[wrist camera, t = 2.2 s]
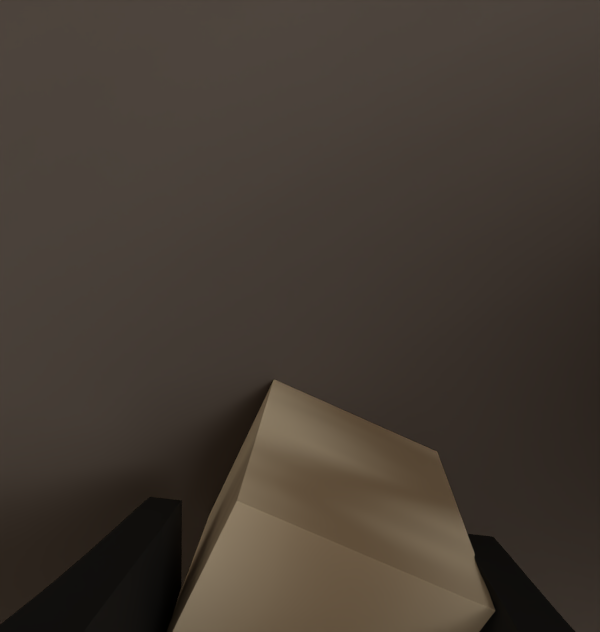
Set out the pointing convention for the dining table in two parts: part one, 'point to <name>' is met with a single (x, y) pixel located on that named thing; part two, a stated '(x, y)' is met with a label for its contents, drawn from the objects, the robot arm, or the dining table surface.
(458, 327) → the dining table surface
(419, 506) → the maple block
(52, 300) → the dining table surface
